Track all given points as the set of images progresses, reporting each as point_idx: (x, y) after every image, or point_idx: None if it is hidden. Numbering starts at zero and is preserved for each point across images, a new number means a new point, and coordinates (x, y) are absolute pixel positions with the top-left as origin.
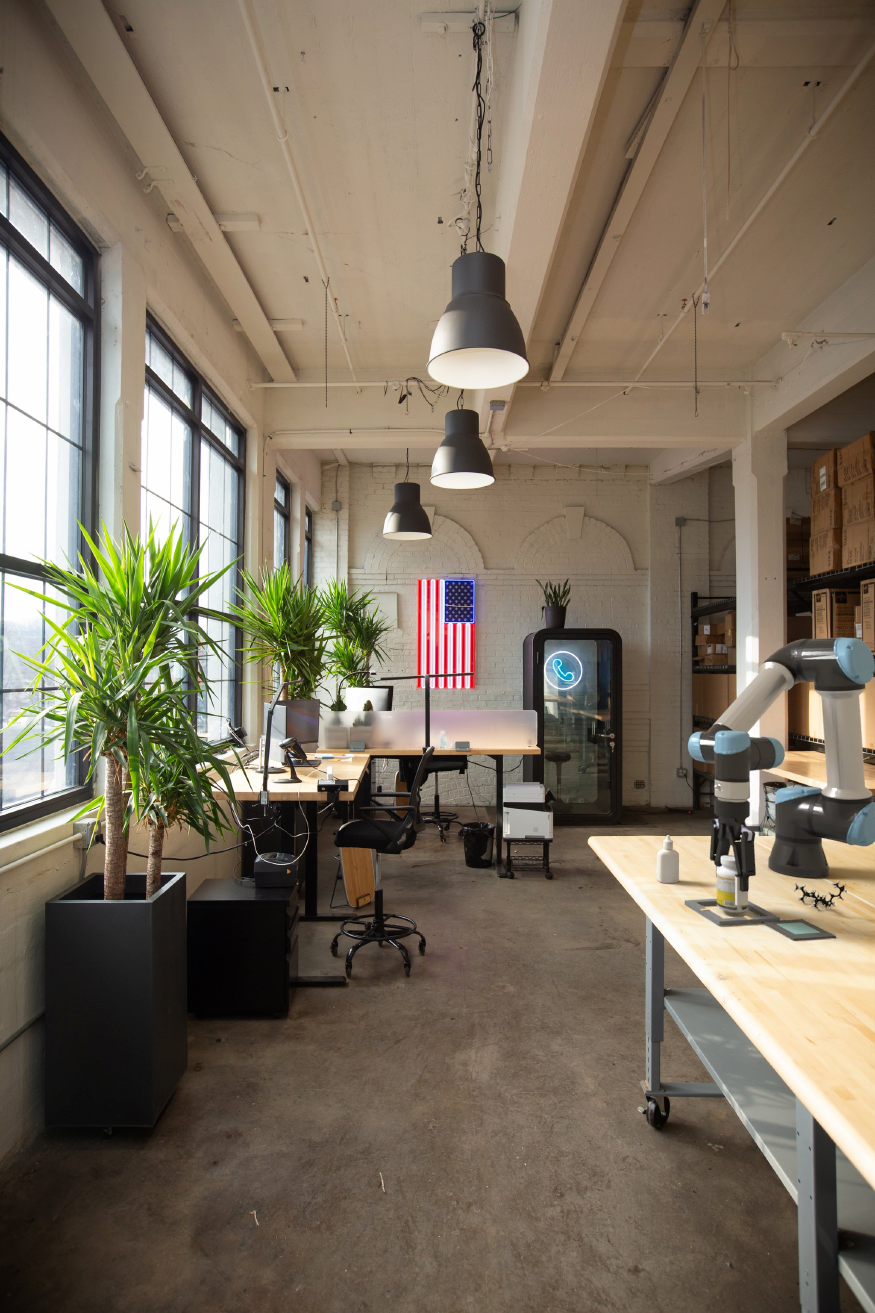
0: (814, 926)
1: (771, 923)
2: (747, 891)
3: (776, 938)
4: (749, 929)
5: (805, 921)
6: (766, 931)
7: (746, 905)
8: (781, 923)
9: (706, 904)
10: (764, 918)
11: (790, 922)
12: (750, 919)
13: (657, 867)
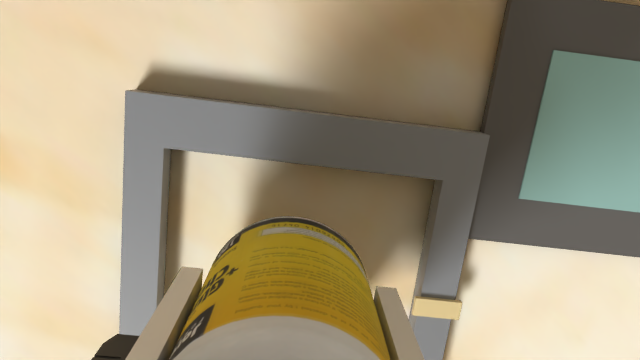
0: (626, 22)
1: (500, 214)
2: (414, 339)
3: (621, 307)
4: (494, 342)
5: (551, 5)
6: (542, 288)
7: (361, 264)
8: (520, 164)
9: None
10: (468, 230)
11: (530, 106)
12: (459, 312)
13: None
